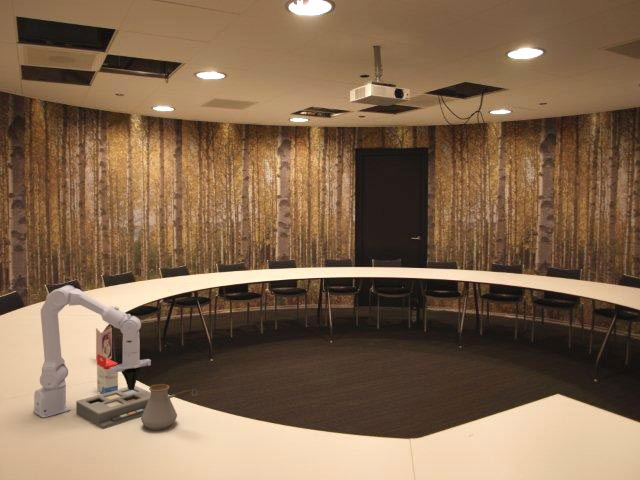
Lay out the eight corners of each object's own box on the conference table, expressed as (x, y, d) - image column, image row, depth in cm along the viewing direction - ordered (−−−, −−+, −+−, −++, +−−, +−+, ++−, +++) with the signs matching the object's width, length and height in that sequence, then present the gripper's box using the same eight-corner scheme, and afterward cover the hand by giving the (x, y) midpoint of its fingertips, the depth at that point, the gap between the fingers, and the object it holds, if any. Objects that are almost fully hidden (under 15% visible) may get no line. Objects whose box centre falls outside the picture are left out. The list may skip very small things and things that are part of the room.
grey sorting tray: (102, 428, 165) (102, 415, 165) (76, 413, 177) (76, 401, 177) (162, 409, 182) (162, 397, 182) (134, 396, 194) (134, 385, 194)
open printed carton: (102, 365, 232) (102, 333, 231) (86, 365, 232) (86, 332, 231) (113, 358, 244) (113, 327, 243) (98, 357, 244) (98, 326, 243)
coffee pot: (133, 427, 167) (133, 382, 166) (159, 415, 177) (159, 373, 176) (182, 442, 157) (182, 395, 156) (207, 429, 167) (207, 384, 166)
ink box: (118, 392, 198) (118, 355, 197) (105, 395, 195) (105, 358, 194) (108, 387, 204) (108, 351, 203) (96, 390, 200) (96, 353, 200)
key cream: (111, 412, 173) (111, 408, 173) (104, 408, 176) (104, 404, 176) (123, 408, 176) (123, 404, 176) (116, 405, 179) (116, 401, 179)
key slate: (127, 399, 184) (127, 395, 184) (121, 396, 187) (121, 392, 187) (138, 396, 188) (138, 392, 188) (132, 393, 191) (132, 389, 191)
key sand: (110, 404, 179) (110, 400, 179) (104, 401, 182) (104, 397, 182) (122, 401, 183) (122, 397, 183) (116, 398, 186) (116, 394, 186)
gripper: (117, 357, 173) (117, 396, 174) (155, 349, 184) (155, 386, 185) (107, 353, 178) (107, 391, 178) (145, 346, 189) (144, 382, 189)
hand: (131, 388), depth 182 cm, fingers closed
